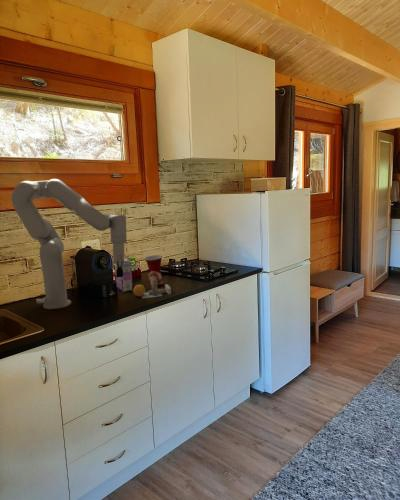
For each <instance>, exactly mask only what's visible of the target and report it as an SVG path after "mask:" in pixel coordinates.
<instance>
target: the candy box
mask: <svg viewBox="0 0 400 500" xmlns="http://www.w3.org/2000/svg"><path fill="white" fill-rule="evenodd" d="M122 267H123V277H116V276H115V282H116V288H117V289H119V290H120V291H121V292H132V291H133V289H134V287H133V275H132V273H133V271H132V260H131V259H128V258H126V257H124V263H122ZM116 269H117V267H116V263H115V264H114V272H115V274H116Z"/></svg>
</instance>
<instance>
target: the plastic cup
mask: <svg viewBox="0 0 400 500" xmlns="http://www.w3.org/2000/svg"><path fill="white" fill-rule="evenodd" d="M162 258H163V255H160V254H155V255H154V254H153V255H149V256H146V257H144V260H145V261H146V265H147V268H148V271H149V273H150V272H151V271H155V272H158V273H161V267H162Z"/></svg>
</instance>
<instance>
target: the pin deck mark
mask: <svg viewBox="0 0 400 500" xmlns="http://www.w3.org/2000/svg"><path fill="white" fill-rule="evenodd" d="M140 297H141V299H150V298H158V297H163V294H158V295H157V296H153V295H149V293H148V291H145V293H144V295H143V296H140Z"/></svg>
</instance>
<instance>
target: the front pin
mask: <svg viewBox="0 0 400 500" xmlns="http://www.w3.org/2000/svg"><path fill="white" fill-rule="evenodd" d="M157 291H158V294H162V295H163V294H167V292H166V290H165V288H159V289H158V288H157ZM147 292H148V293H149V295H153V290H148V291H147Z"/></svg>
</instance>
